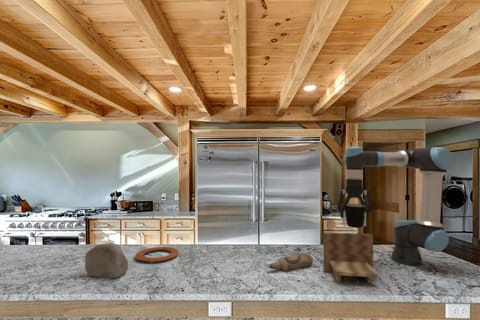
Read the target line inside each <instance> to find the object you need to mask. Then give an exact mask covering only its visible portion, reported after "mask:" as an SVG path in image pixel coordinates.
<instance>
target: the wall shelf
mask: <svg viewBox="0 0 480 320" xmlns="http://www.w3.org/2000/svg"><path fill="white" fill-rule="evenodd" d="M323 273H332V274H333V276H334V278H335V280H336V281H337V282H342V280H341V278H342V276H349V277H350V276H351V277H363V278H364V280H365V281H366V282H367V283H368V284H372V279H373V278H378V277H379V273H378V272H377V271H376V270H375V269H374V234H373V233H353V232H352V233H350V232H349V233H347V232H343V233H342V232H323Z"/></svg>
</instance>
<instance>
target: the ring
mask: <svg viewBox="0 0 480 320" xmlns="http://www.w3.org/2000/svg"><path fill="white" fill-rule="evenodd" d="M153 251H164V252H170V253H169V254H168V255H164V256H161V257H148V256H145V254H146V253H147V252H150V253H151V252H153ZM147 254H148V253H147ZM179 254H180V250H178V249H177V248H174V247H169V246H156V247H150V248H149V247H148V248H145V249H143V250H140V251H138V252H137V253H135V255H134V256H135V259H136V260H138V261H142V262H146V263H147V262H149V263H151V262H152V263H153V262H161V261H166V260H168V261H169V260H171V259H172V258H173V259H174V258H175V257H177V256H178V255H179Z"/></svg>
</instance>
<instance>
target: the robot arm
mask: <svg viewBox="0 0 480 320" xmlns="http://www.w3.org/2000/svg"><path fill="white" fill-rule="evenodd" d="M363 149H364V148H363V147H362V146H348V147H347V148H346V151H345V154H344V156H343V159H342V161H343V163H344V165H345V166H346V167H345V178H346V179H345V188H344V189H339V190H338V192H339V194H338V195H339V196H338V199H337V202H336V203H337V204H336V208H335V209H337V211H339V212H340V213H339V214H340V218H341V220H342V221H341V223H342V225H343V226H346V216H345V205H347V204H349V201H350V200H351V199H354V198H355V199H358V201H359V204H360V205H362V206H364V205H365V219H364V224H363V226H362V227H366V226H367V220H369V213H370V212H372V211H373V207H372V202H371V197H370V194H371V191H370V190H368V189H366V190H365V189H364V185H363V184H364V180H363V178H364V175H363V174H364V171H363V170H364V169H363V168H364V167H367V168H368V167H369V168H370V167H371V168H373V167H374V168H378V167H385V166H386V167H387V166H388V167H389V166H391V167H393V166H397V167H398V168H409V169H410V168H411V169H418V170H419V173H420V174H421V175H422V179H421V180H422V181H421V197H420V198H421V200H420V213H419V214H420V215H419V220H412V219H401V220H400V219H398V220H395V222H394V227H393V229H394V233H393V234H394V246H393V249H392V250H391V251H392V252H391V260H392V261H394V262H395V263H398V264H402V265H408V266H420V265H423V257H422V254H421V252H420V249H419V248H422V249H424V250H426V251H431V252H434V253H438V252H441V251H443V250H445V249H446V248H447V246H448V244H449V240H450V238H449V235H448V233H447V232H446V230H444V225H443V223H441V208H442V195H443V194H442V191H443V177H444V176H445V175H446V174H447V171H448V170H449V169H451V168H452V166H453V164H454V158H453V157H454V156H453V155H452V152H451V151H450V150H449V149H447V148H446V147H443V146H441V147H440V146H431V147H430V146H429V147H417V148H411V149H406V150H405V149H404V150H398V151H396V152H394V151H393V152H391V151H390V152H388V151H387V152H383V151H376V150H375V151H370V150H369V151H366V150H365V151H364V150H363ZM345 193H346V197H345V199H344V201H343V198H344V194H345ZM363 194H364V197H365V200H366V201H365V202H366V203H365V202H364V199H363V197H362V195H363Z"/></svg>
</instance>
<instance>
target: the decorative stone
mask: <svg viewBox="0 0 480 320" xmlns="http://www.w3.org/2000/svg"><path fill="white" fill-rule="evenodd" d="M84 259H85V260H84V265H85V266H84V267H85V268H84V269H85V272H86V273H87V275H88V276H89V277H94V278H97V277H98V278H109V279H117V278H119V277H121V276H122V275H124V274H125V273H126V272H128V270H129V266H128V265H129V261H128V260H129V259H128V258H127V257H126V256H125V253H123V251H122V248H121V246H120V245H119V244H117V243H115V242H105V243H101V244H97V245H95V246H93V247H92V248H90V249H89V250H88V251H87V252H86V254H85V258H84Z"/></svg>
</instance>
